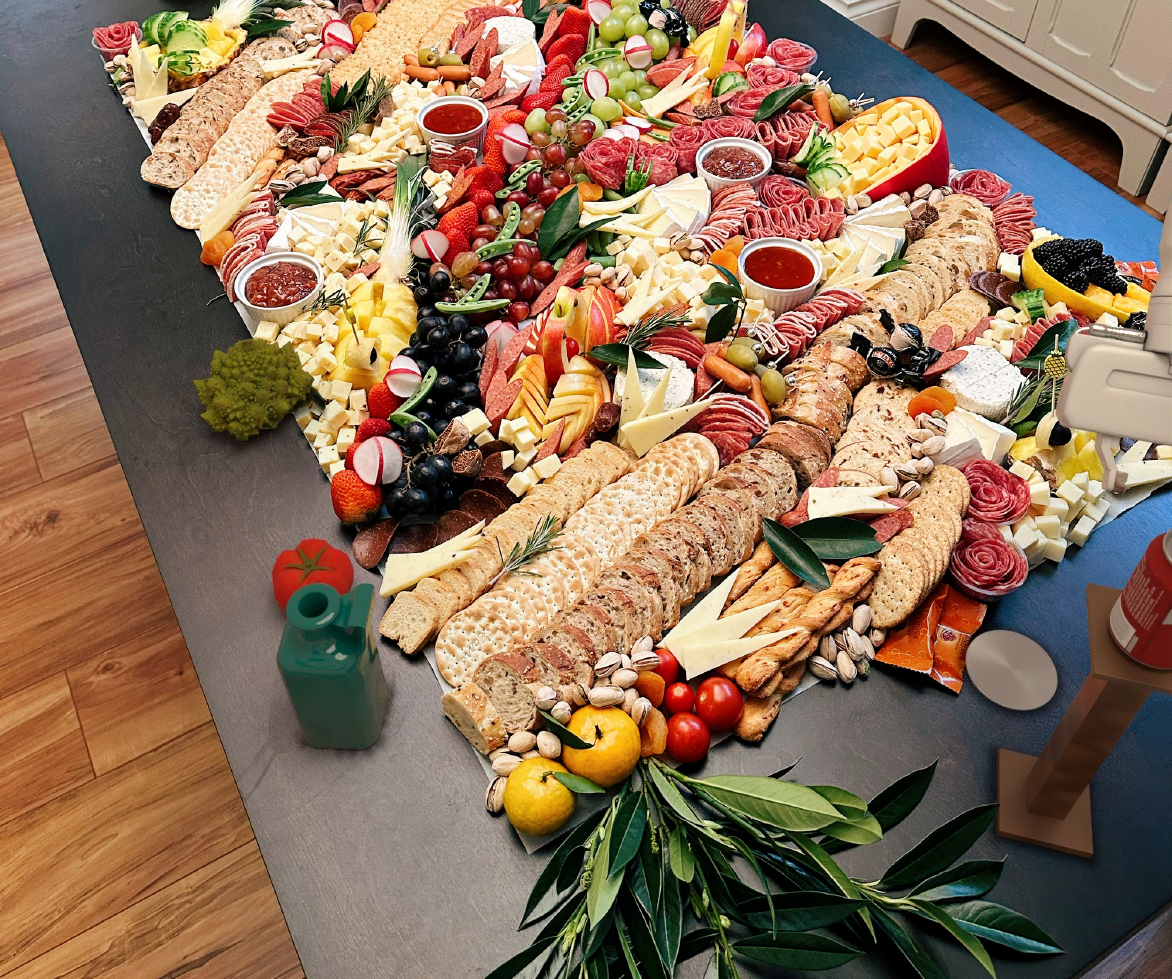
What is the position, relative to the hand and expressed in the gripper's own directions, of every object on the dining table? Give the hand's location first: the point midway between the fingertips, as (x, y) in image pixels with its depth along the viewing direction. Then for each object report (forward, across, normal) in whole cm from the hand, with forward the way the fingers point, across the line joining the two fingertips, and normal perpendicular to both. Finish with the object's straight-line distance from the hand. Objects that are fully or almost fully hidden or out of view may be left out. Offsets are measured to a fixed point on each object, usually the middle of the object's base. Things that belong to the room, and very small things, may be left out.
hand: (1171, 503), depth 94 cm
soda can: (+12, 0, 0) cm, 12 cm away
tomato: (+32, -83, +26) cm, 92 cm away
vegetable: (+13, -104, +44) cm, 113 cm away
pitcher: (+41, -73, +17) cm, 85 cm away
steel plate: (+24, -3, +33) cm, 41 cm away
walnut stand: (+34, 0, +23) cm, 41 cm away
